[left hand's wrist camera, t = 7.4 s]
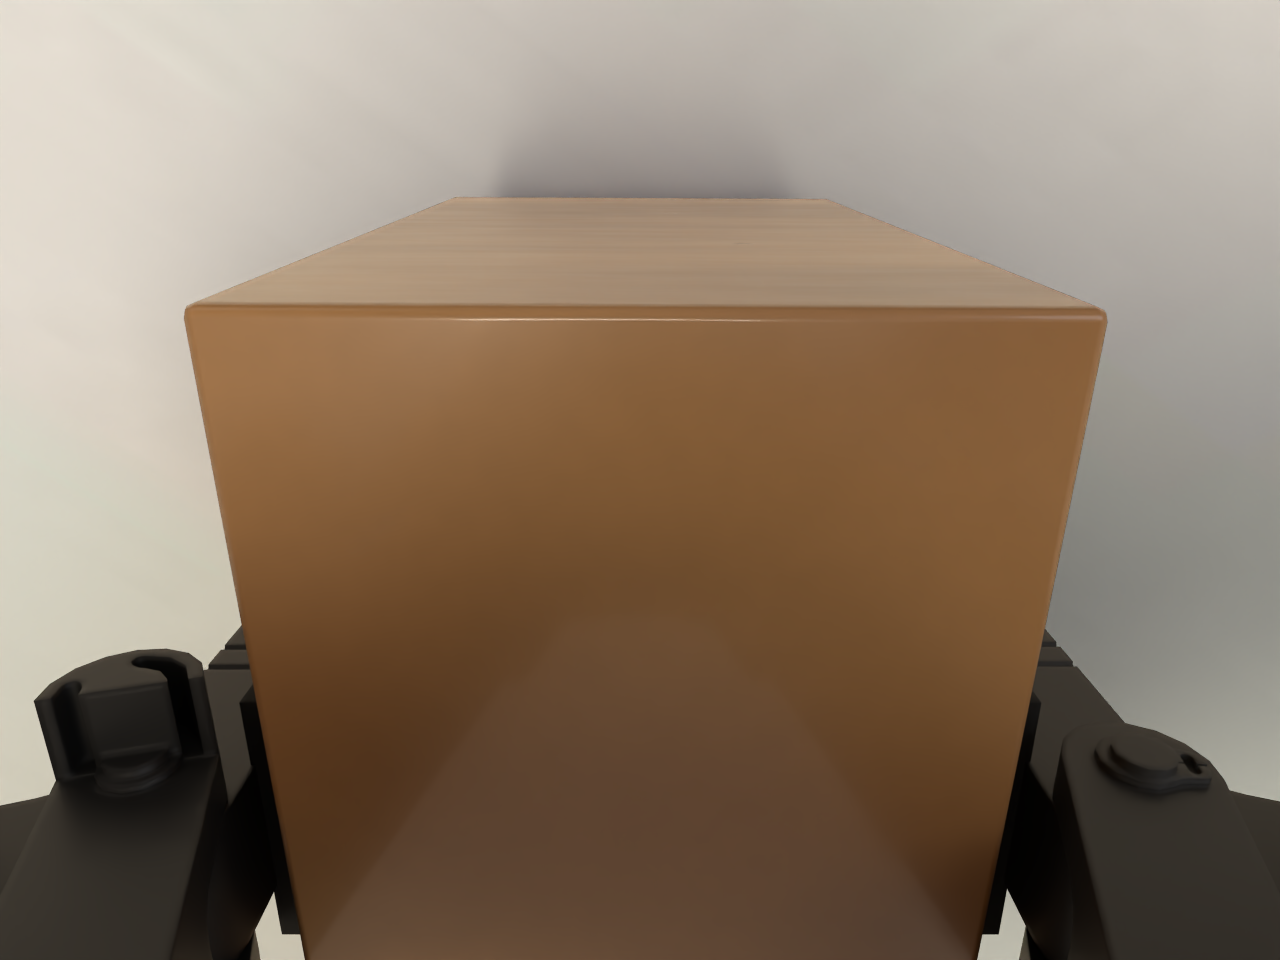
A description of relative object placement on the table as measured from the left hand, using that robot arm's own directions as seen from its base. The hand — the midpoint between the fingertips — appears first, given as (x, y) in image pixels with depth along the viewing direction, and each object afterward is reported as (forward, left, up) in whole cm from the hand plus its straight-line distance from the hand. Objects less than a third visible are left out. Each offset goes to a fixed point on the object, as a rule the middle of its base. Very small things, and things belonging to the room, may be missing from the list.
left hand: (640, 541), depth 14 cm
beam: (-3, +32, -1) cm, 32 cm away
